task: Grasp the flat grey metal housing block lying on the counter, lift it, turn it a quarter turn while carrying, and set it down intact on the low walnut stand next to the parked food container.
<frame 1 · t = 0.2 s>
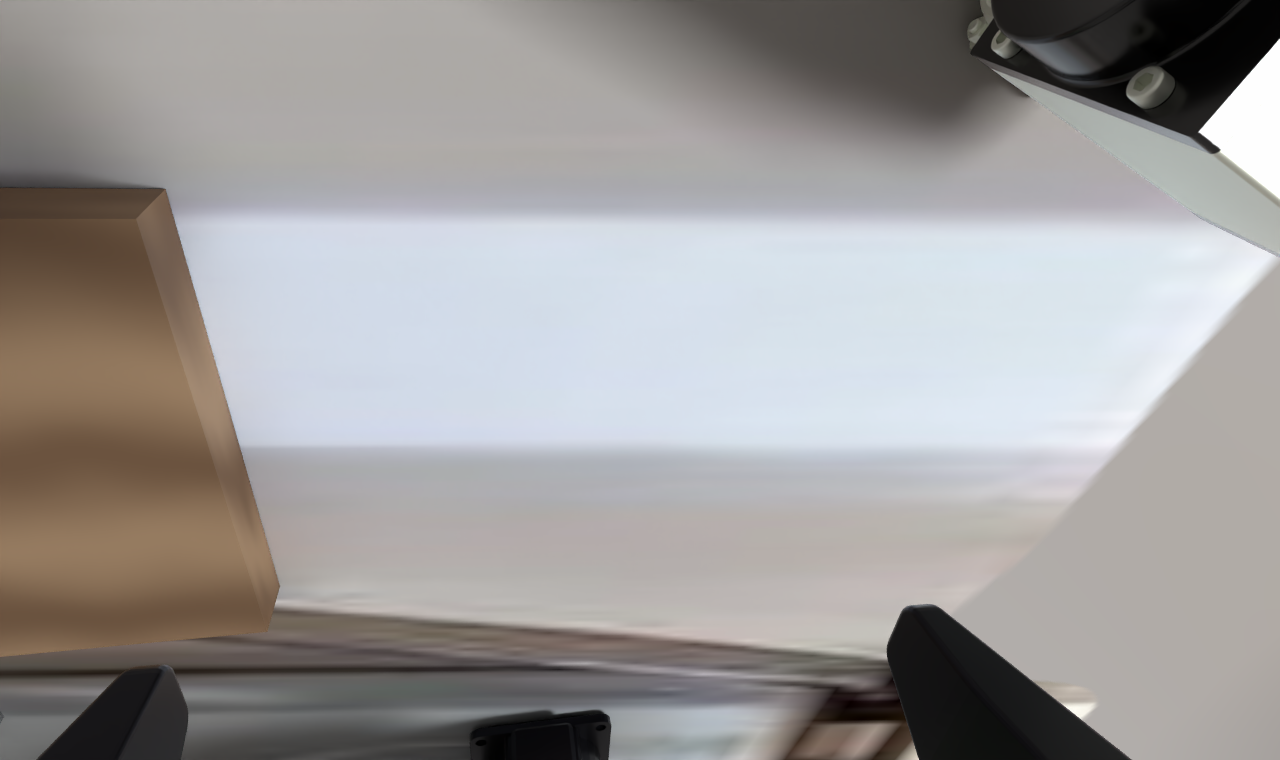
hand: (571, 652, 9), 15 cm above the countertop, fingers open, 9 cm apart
pneumatic valve: (1050, 0, 21), on the countertop
stand: (32, 432, 22), on the countertop
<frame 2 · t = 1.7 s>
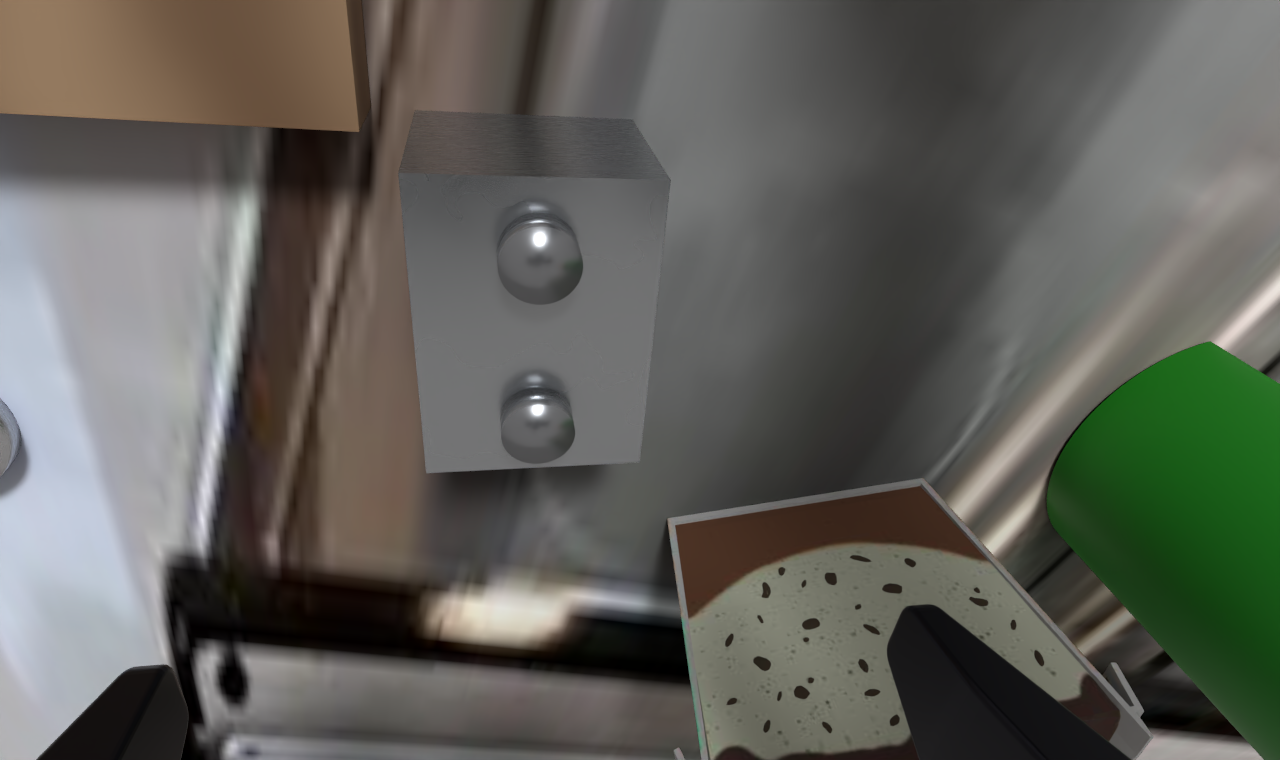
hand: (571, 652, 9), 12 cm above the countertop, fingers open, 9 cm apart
food container: (789, 554, 28), on the countertop
housing: (526, 251, 19), on the countertop
soap dispenser: (1154, 459, 29), on the countertop
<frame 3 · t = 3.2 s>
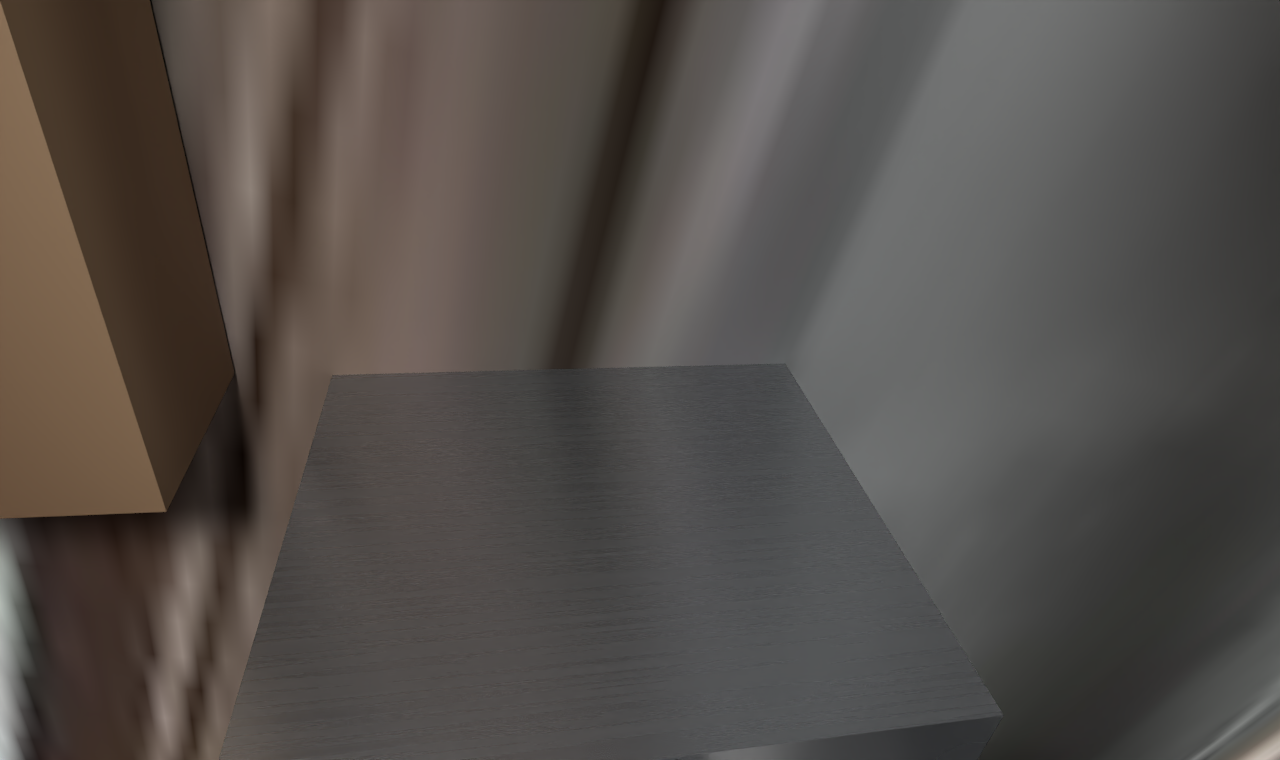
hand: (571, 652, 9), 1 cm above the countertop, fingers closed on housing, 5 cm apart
housing: (563, 583, 10), on the countertop, touching gripper
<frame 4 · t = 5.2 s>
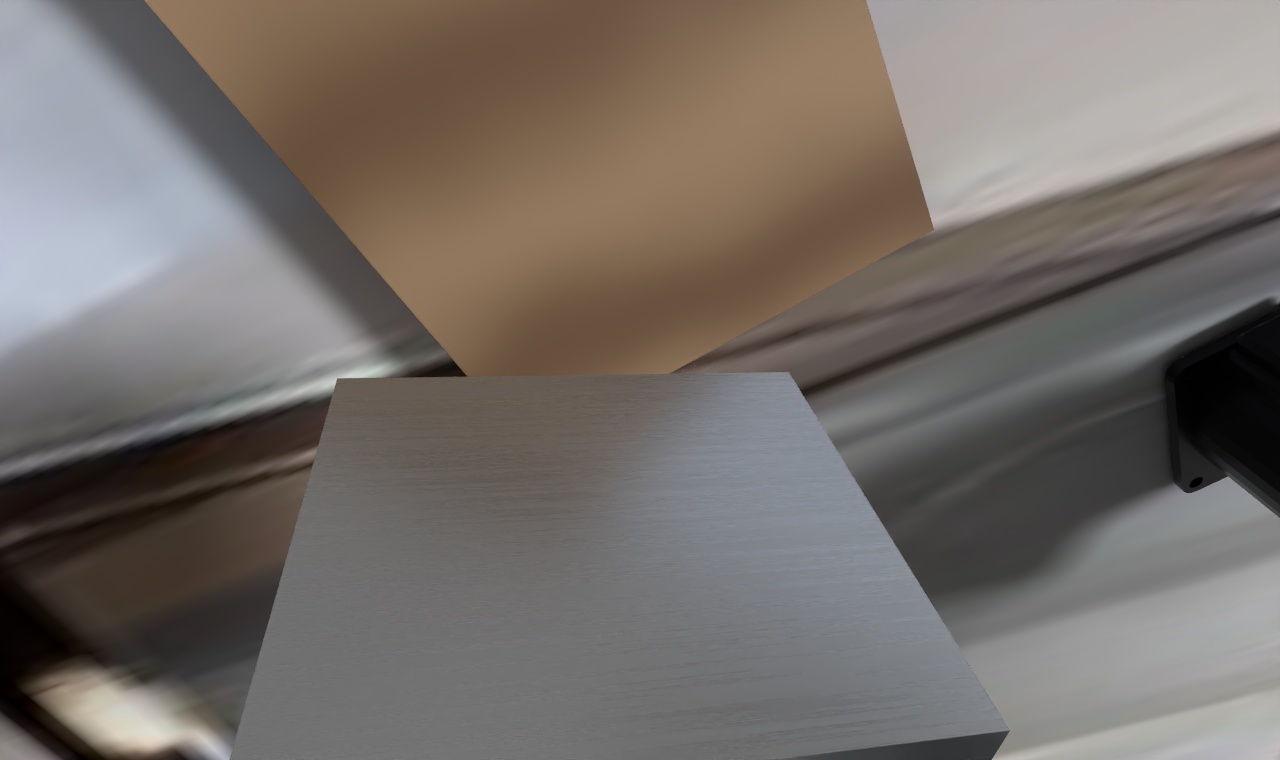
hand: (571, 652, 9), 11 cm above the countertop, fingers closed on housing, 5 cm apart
housing: (563, 589, 10), point 10 cm above the countertop, touching gripper
stand: (553, 35, 15), on the countertop
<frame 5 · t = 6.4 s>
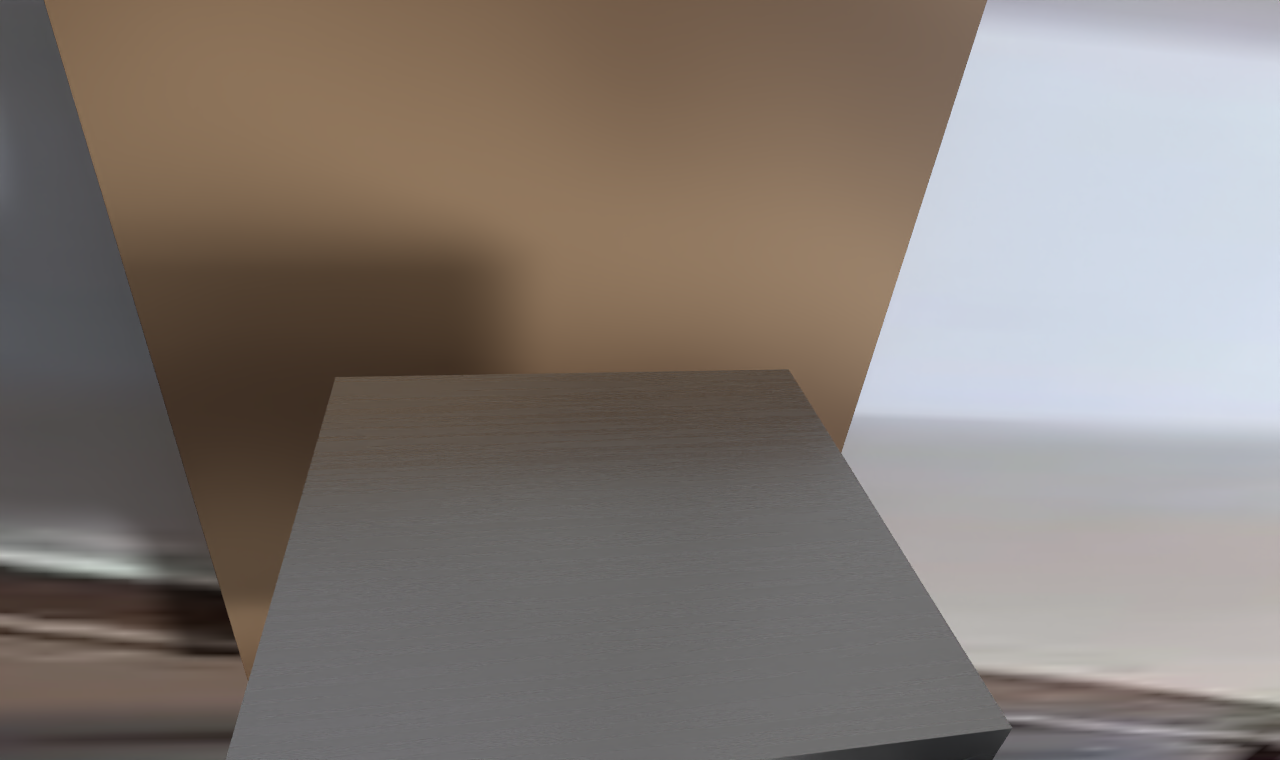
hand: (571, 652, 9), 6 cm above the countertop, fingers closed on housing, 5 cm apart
housing: (563, 588, 10), point 5 cm above the countertop, touching gripper
stand: (535, 378, 14), on the countertop
when the fingers open (4 cm above the countertop, at t = 7.2 s): housing stays where it is, resting on stand.
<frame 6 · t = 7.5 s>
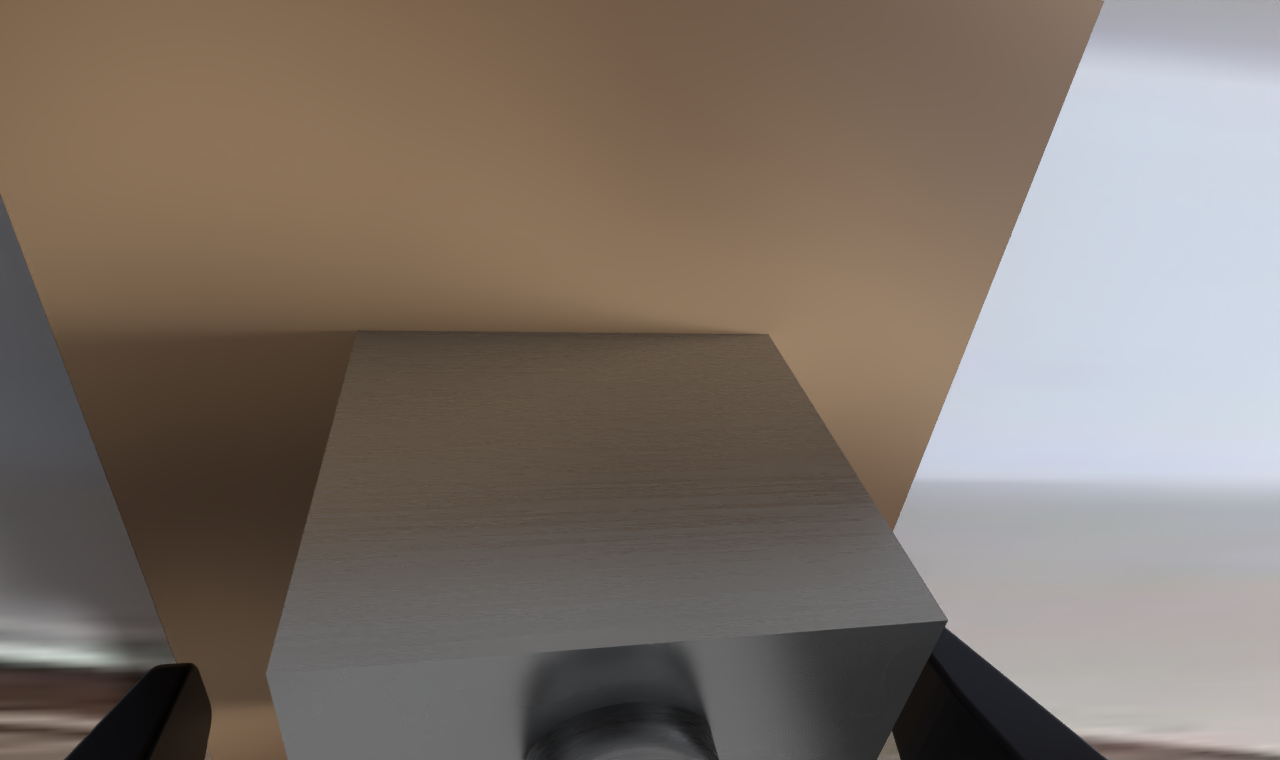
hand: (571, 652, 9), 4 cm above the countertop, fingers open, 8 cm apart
housing: (559, 539, 11), point 2 cm above the countertop, touching stand
stand: (546, 449, 13), on the countertop
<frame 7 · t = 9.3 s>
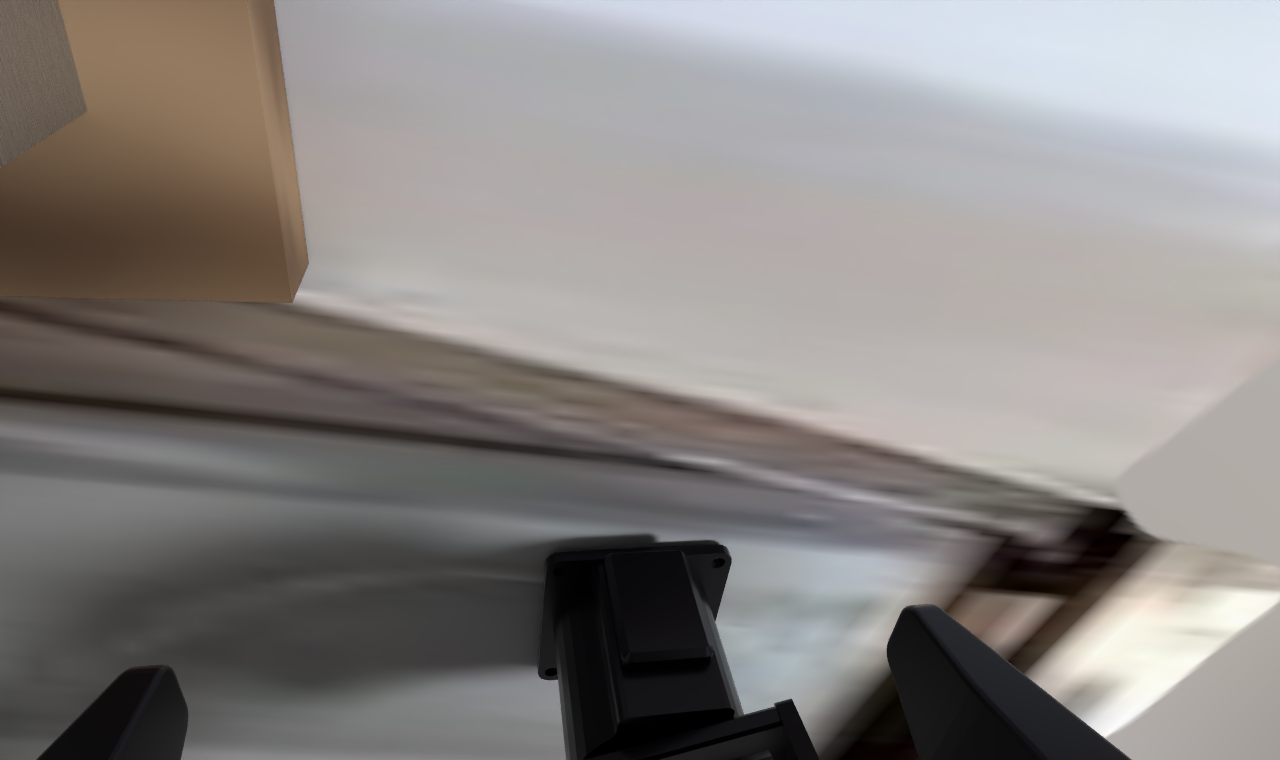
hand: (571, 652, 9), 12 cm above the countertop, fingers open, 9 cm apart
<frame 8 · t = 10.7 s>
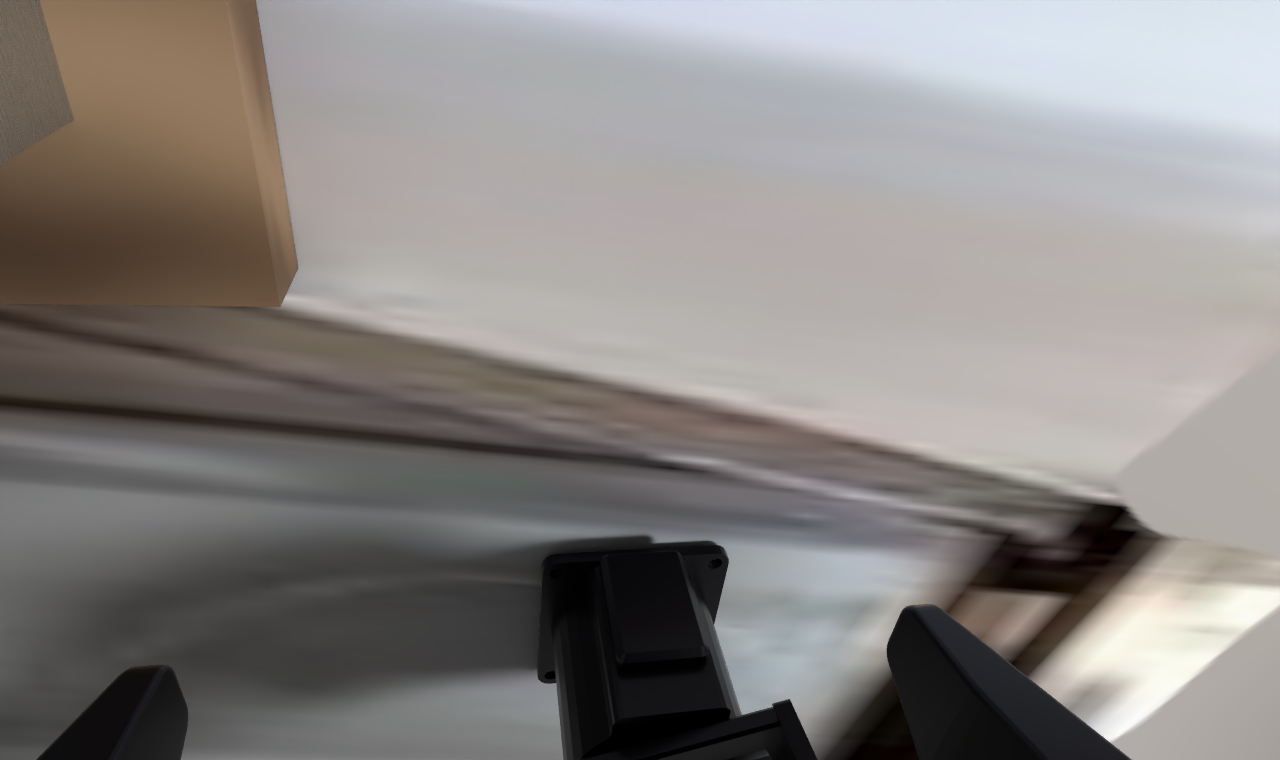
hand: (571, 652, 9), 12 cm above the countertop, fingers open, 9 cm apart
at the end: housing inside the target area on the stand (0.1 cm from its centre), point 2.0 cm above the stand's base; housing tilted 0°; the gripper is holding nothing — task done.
